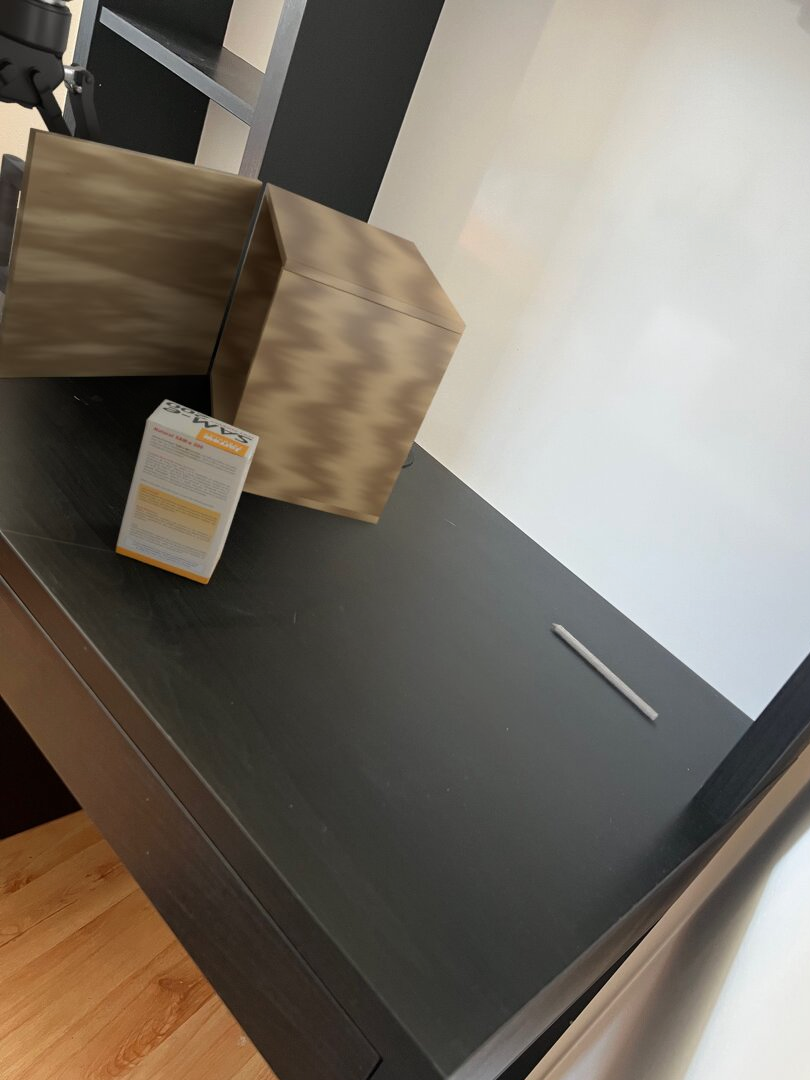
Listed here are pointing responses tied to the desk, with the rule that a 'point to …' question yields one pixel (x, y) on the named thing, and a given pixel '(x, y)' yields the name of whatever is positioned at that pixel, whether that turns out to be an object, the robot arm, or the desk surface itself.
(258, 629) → the desk surface
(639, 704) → the pencil
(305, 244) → the cupboard
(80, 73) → the robot arm
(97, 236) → the cupboard door
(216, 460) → the supplement box
